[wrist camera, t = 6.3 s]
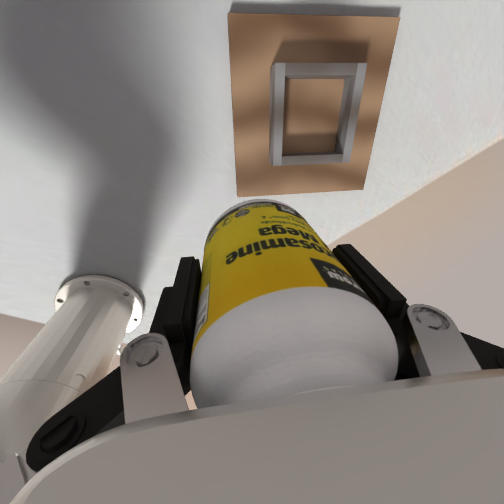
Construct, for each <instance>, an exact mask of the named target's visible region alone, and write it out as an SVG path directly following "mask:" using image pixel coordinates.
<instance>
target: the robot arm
mask: <svg viewBox="0 0 504 504" xmlns="http://www.w3.org/2000/svg"><path fill="white" fill-rule="evenodd" d="M332 253H333V254H334V256H335V257H336V258H337V259H338V260H339V262H340V263H341V264H342V265H343V266H344V268H345V269H346V270H347V271H348V273H349V274H350V275H351V276H352V278H353V279H354V280H355V281H356V282H357V283H358V285H359V286H360V288H361V289H362V290H363V291H364V292H365V294H366V295H367V296H368V297H369V298H370V299H371V301H372V302H373V303H374V305H375V306H376V307H377V309H378V310H379V311H380V313H381V314H382V315H383V317H384V318H385V320H386V321H387V323H388V324H389V326H390V328H391V330H392V332H393V334H394V337H395V340H396V344H397V349H398V368H397V373H396V377H395V380H394V381H389V382H381V383H374V384H367V385H359V386H352V387H345V388H338V389H331V390H324V391H316V392H309V393H302V394H295V395H288V396H281V397H274V398H268V399H261V400H254V401H247V402H240V403H233V404H226V405H219V406H213V407H207V408H201V409H195V410H189V408H188V405H187V402H186V399H185V395H186V394H187V393H188V392H189V391H190V390H191V385H190V362H191V354H192V346H193V340H194V331H195V324H196V316H197V307H198V298H199V290H200V282H201V268H200V262H199V259H195V258H194V256H193V257H182V258H181V260H180V263H179V267H178V271H177V274H176V278H175V282H174V285H173V287H165V288H164V289H163V291H162V294H161V297H160V300H159V303H158V307H157V310H156V313H155V316H154V319H153V322H152V325H151V328H150V331H149V333H147V334H144V335H141V336H139V337H137V338H135V339H133V340H132V341H131V342H130V343H128V345H127V346H126V347H125V348H124V349H123V346H122V345H121V343H122V341H123V338H124V336H125V334H127V333H129V332H130V331H132V330H133V329H134V328H136V327H137V326H138V324H139V323H140V321H141V318H142V316H143V311H144V310H143V303H142V300H141V298H140V297H139V295H138V294H137V293H136V292H135V291H134V289H132V288H131V287H130V286H128V285H127V284H125V283H123V282H121V281H119V280H117V279H114V278H111V277H107V276H100V275H86V276H81V277H77V278H74V279H72V280H70V281H69V282H67V283H66V284H64V285H63V286H62V287H61V289H60V290H59V291H58V292H57V294H56V296H55V299H54V307H55V310H56V313H55V314H54V315H53V316H52V317H51V319H50V320H49V321H48V322H47V323H46V325H45V326H44V327H43V328H42V330H41V331H40V332H39V333H38V334H37V336H36V337H35V338H34V339H33V340H32V342H31V343H30V344H29V345H28V347H27V348H26V349H25V350H24V351H23V352H22V354H21V355H20V356H19V357H18V358H17V360H16V361H15V362H14V363H13V365H12V366H11V367H10V368H9V369H8V370H7V372H6V373H5V374H4V375H3V376H2V378H1V379H0V504H504V348H501V347H498V346H496V345H493V344H491V343H488V342H485V341H483V340H480V339H477V338H475V337H472V336H470V335H467V334H464V333H462V332H459V330H458V328H457V326H456V325H455V323H454V322H453V320H452V319H451V318H450V317H449V316H448V315H447V314H445V313H444V312H442V311H441V310H439V309H437V308H434V307H432V306H429V305H424V304H414V305H411V306H409V305H408V304H407V303H406V300H407V299H406V298H405V297H404V296H403V295H402V294H401V293H400V292H399V291H398V290H397V289H396V288H395V287H394V286H393V285H392V284H391V283H390V282H388V280H386V278H385V277H384V276H383V275H382V274H381V273H379V272H378V271H377V270H376V269H375V268H374V267H373V266H372V265H371V264H370V263H369V262H368V261H367V260H366V259H365V258H364V257H363V256H362V255H361V254H360V253H359V252H358V251H357V250H356V249H355V248H354V247H353V246H352V245H351V244H342V245H337V246H336V248H334V249H333V251H332ZM115 355H121V356H120V366H119V367H118V368H116V369H115V370H114V371H112V372H111V373H110V374H108V375H107V373H108V371H109V369H110V366H111V364H112V362H113V359H114V357H115Z"/></svg>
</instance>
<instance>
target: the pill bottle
mask: <svg viewBox="0 0 504 504" xmlns="http://www.w3.org/2000/svg"><path fill="white" fill-rule="evenodd" d="M397 368H398V349H397V344H396V340H395V337H394V334H393V332H392V330H391V328H390V326H389V324H388V323H387V321H386V320H385V318H384V317H383V315H382V314H381V313H380V311H379V310H378V309H377V307H376V306H375V305H374V303H373V302H372V301H371V299H370V298H369V297H368V296H367V295H366V294H365V292H364V291H363V290H362V289H361V288H360V286H359V285H358V283H357V282H356V281H355V280H354V279H353V278H352V276H351V275H350V274H349V273H348V271H347V270H346V269H345V268H344V266H343V265H342V264H341V263H340V262H339V260H338V259H337V258H336V257H335V256H334V254H333V253H332V251H331V250H329V248H328V247H327V246H326V244H325V243H324V242H323V241H322V240H321V238H320V237H319V236H318V235H317V233H316V232H315V231H314V230H313V229H312V227H311V226H310V225H309V224H308V222H307V221H306V220H305V219H304V218H303V217H302V216H301V215H300V214H299V213H298V212H297V211H296V210H294V209H293V208H292V207H290V206H288V205H286V204H284V203H281V202H279V201H275V200H269V199H253V200H248V201H244V202H241V203H239V204H237V205H234V206H233V207H231V208H229V209H228V210H227V211H225V212H224V213H223V214H222V215H221V216H220V217H219V218H218V219H217V220H216V221H215V223H214V224H213V226H212V227H211V229H210V231H209V233H208V236H207V239H206V243H205V247H204V256H203V264H202V272H201V282H200V290H199V298H198V307H197V316H196V324H195V331H194V340H193V346H192V354H191V362H190V385H191V391H192V395H193V398H194V401H195V404H196V406H197V408H198V409H201V408H207V407H213V406H219V405H226V404H233V403H240V402H247V401H254V400H261V399H268V398H274V397H281V396H288V395H295V394H302V393H309V392H316V391H324V390H331V389H338V388H345V387H352V386H359V385H367V384H374V383H381V382H389V381H394V380H395V377H396V373H397Z"/></svg>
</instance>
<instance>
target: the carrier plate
mask: <svg viewBox="0 0 504 504" xmlns="http://www.w3.org/2000/svg"><path fill="white" fill-rule="evenodd" d="M399 21H400V17H371V16H334V15H297V14H260V13H228V35H229V53H230V72H231V91H232V109H233V128H234V147H235V165H236V184H237V196H238V197H249V196H265V195H282V194H298V193H314V192H331V191H347V190H363V188H364V183H365V179H366V174H367V169H368V165H369V160H370V155H371V151H372V146H373V142H374V137H375V132H376V128H377V123H378V118H379V114H380V109H381V104H382V100H383V95H384V91H385V86H386V81H387V77H388V72H389V67H390V63H391V58H392V53H393V49H394V44H395V39H396V35H397V30H398V26H399Z"/></svg>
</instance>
